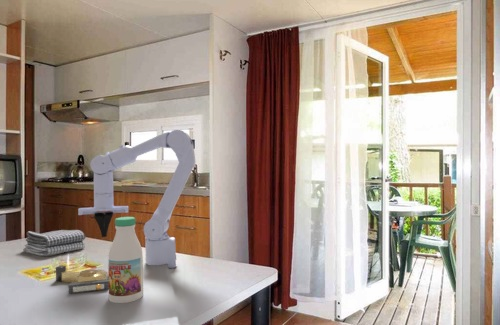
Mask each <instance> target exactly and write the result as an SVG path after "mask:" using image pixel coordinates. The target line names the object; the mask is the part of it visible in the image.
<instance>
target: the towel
mask: <svg viewBox="0 0 500 325" xmlns="http://www.w3.org/2000/svg"><path fill="white" fill-rule="evenodd" d="M25 235H27V237H26V238H25V242H27V243H26V244H24V247H23V249H22V252H24V253H28V254H32V255H37V256H41V257H49V256H54V255H60V254H63V253H64V252H65V253H69V252H73V251H78V250H82V249H84V248H86V243H85V239H86V234H85V233H84V232H83V231H82V230H79V229H70V230H68V229H61V230H60V229H59V230H58V229H57V230H52V231H48V232H43V233H39V232H35V231H31V230H29V231H27V232H26V234H25ZM65 253H64V254H65Z"/></svg>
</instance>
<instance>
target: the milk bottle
mask: <svg viewBox="0 0 500 325" xmlns="http://www.w3.org/2000/svg"><path fill="white" fill-rule="evenodd" d="M136 221H137V220H136V217H134V216H121V217H116V218H115V220H114V225H115V227H114V228H115V230H116V231H115V234H114V238H113V241H112V243H111V246H110V248H109V250H108V251H109V252H108V264H107V265H108V267H107V268H108V279H109V289H108V300H109V302H111V303H114V304H115V303H116V304H125V303H130V302H134V301H137V300H139V299H141V298H143V296H144V260H143V258H144V257H143V247H142V246H141V243H140V241H139V239H138V236H137V234H136V230H135V227H136V224H137V223H136Z"/></svg>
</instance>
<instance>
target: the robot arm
mask: <svg viewBox="0 0 500 325" xmlns="http://www.w3.org/2000/svg"><path fill="white" fill-rule="evenodd" d="M162 148H164V149H171V150H172V151H173V152H174V154H175V156H176V158H177V160H178V164H177V166H176V169H175V171H174V173H173V175H172V177H171V178H170V181H169V182H168V185H167V186H166V189H165V191H164V194H163V196H162V197H161V200H160V201H159V204H158V206H157V208H156V210H155V211H154V212H153V214H152V217H151V218H150V219H149V220H147V221H146V222H145V224H144V225H143V234H144V236H145V237H144V239H145V241H144V243H145V244H144V245H145V248H144V249H145V251H144V252H145V265H149V266H160V265H161V266H162V265H166V264H167V266H168V267H167V268H168V269H172V268H176V267H177V264H176V263H177V262H176V261H177V254H176V249H177V248H176V238H175V237H174V236H169V234H168V230H169V229H170V220H171V217H172V214H173V211H174V209H175V206H176V205H177V203H178V201H179V198H180V196H181V194H182V193H183V190H184V189H185V186H186V184H187V181H188V180H189V178H190V176H191V173H192V172H193V170H194V167H195V165H196V157H195V156H196V155H195V147H194V142H193V140H192V138H191V136H190V135H189V134H188V133H187V132H185V131H183V130H182V129H174V130H172V131H166V132H164V133H161V134H159V135H156V136H154V137H152V138H150V139H148V140H146V141H143V142H141V143H139V144H137V145H135V146H131V145H128V144H127V145H124V144H121V145H119V146H118V148H117V149H114V150H112V151H106V152H105V153H104V155H103V154H97V155H96V156H94V157H93V158H92V160H91V161H90V169H91V171H92V172H93V207H92V206H90V207H79V208H77V210H78V214H77V215H78V216H82V215H83V216H84V215H94V217H93V218H94V220H95V222H96V223H97V226H98V227H99V231H100V234H101V238H106V237H108V232H109V231H108V230H109V227H110V223H111V220H112V218H113V216H114V214H117V213H118V214H119V213H129V205H115V204H114V197H115V196H114V171H115V170H118V169H120V168H122V167H125V166H127V165H130V164H132V163H134V162H136V160H137V158H138V157H139V156H141V155H144V154H147V153H149V152H152V151H154V150H157V149H158V150H159V149H162Z"/></svg>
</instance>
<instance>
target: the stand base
mask: <svg viewBox="0 0 500 325" xmlns="http://www.w3.org/2000/svg"><path fill="white" fill-rule="evenodd" d="M107 290H108V291H109V278H107V279H102V280H93V281H83V282H69V284H68V294H69V295H70V294H71V295H72V294H73V295H74V294H80V293H81V294H82V293H89V292H98V291H107Z"/></svg>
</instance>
